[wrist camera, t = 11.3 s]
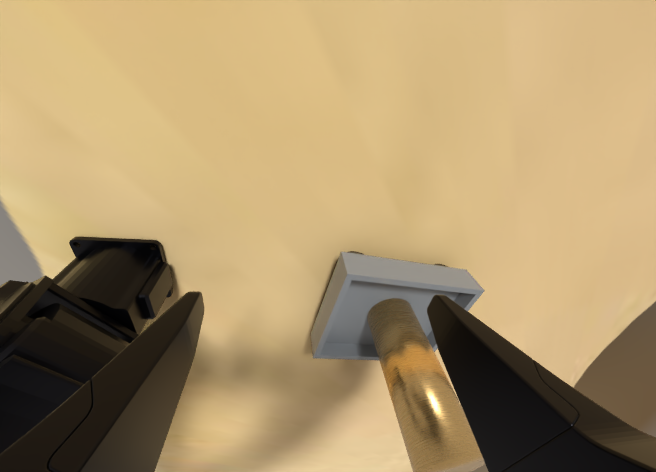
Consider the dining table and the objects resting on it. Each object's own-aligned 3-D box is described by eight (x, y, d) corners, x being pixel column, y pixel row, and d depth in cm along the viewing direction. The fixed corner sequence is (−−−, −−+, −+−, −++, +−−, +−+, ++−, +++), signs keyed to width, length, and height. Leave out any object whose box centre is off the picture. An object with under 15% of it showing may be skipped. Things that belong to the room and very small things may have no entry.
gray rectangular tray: (309, 322, 31) (312, 358, 27) (338, 242, 25) (347, 273, 21) (411, 329, 34) (426, 361, 31) (458, 260, 28) (484, 290, 24)
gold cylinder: (370, 332, 28) (417, 486, 18) (363, 305, 26) (413, 468, 15) (412, 321, 28) (483, 469, 18) (410, 292, 25) (491, 449, 15)
